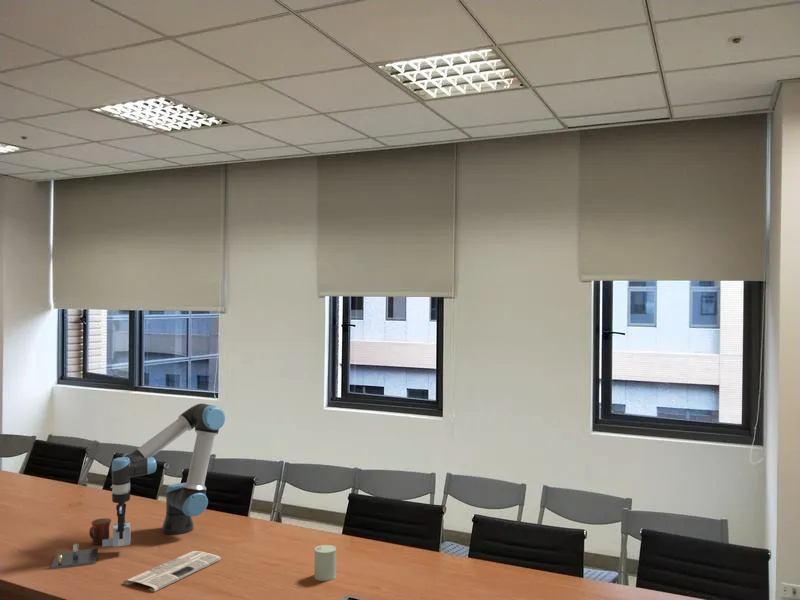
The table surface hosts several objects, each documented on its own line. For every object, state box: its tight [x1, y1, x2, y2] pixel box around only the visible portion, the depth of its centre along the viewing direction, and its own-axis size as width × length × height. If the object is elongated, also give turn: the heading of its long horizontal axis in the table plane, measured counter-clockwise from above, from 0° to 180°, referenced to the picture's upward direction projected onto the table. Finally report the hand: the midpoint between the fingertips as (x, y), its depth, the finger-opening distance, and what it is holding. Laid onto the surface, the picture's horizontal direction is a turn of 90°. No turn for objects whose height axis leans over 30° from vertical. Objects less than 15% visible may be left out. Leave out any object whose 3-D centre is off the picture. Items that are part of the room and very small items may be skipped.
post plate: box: [50, 543, 99, 570], centre depth 278 cm, size 17×17×6 cm
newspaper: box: [123, 550, 221, 593], centre depth 265 cm, size 37×19×3 cm, turn 154°
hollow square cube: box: [101, 521, 131, 548], centre depth 285 cm, size 12×7×8 cm, turn 112°
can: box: [313, 544, 337, 582], centre depth 261 cm, size 9×9×12 cm
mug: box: [88, 517, 112, 546], centre depth 298 cm, size 12×9×10 cm
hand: (121, 542), depth 285 cm, fingers closed on hollow square cube, 7 cm apart
